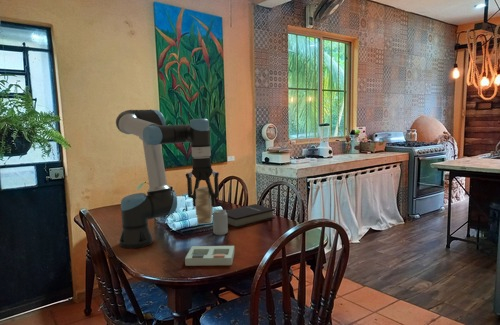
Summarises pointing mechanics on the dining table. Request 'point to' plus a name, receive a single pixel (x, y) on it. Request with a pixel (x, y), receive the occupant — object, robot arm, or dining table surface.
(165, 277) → the dining table surface
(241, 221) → the book
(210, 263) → the socket board
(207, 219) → the maple peg
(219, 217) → the can
